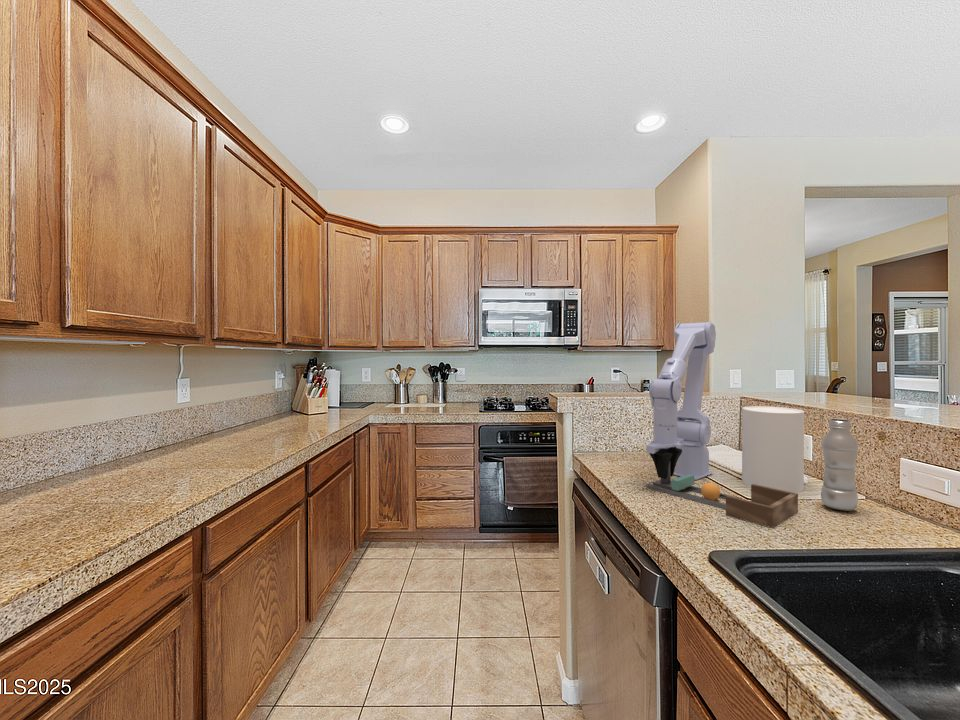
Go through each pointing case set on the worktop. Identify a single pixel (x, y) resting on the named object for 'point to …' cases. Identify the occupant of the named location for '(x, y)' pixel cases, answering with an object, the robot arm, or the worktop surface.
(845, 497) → the plastic bottle
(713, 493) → the ball
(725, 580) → the worktop surface
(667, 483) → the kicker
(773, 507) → the box
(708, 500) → the guide rails
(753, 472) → the canister
